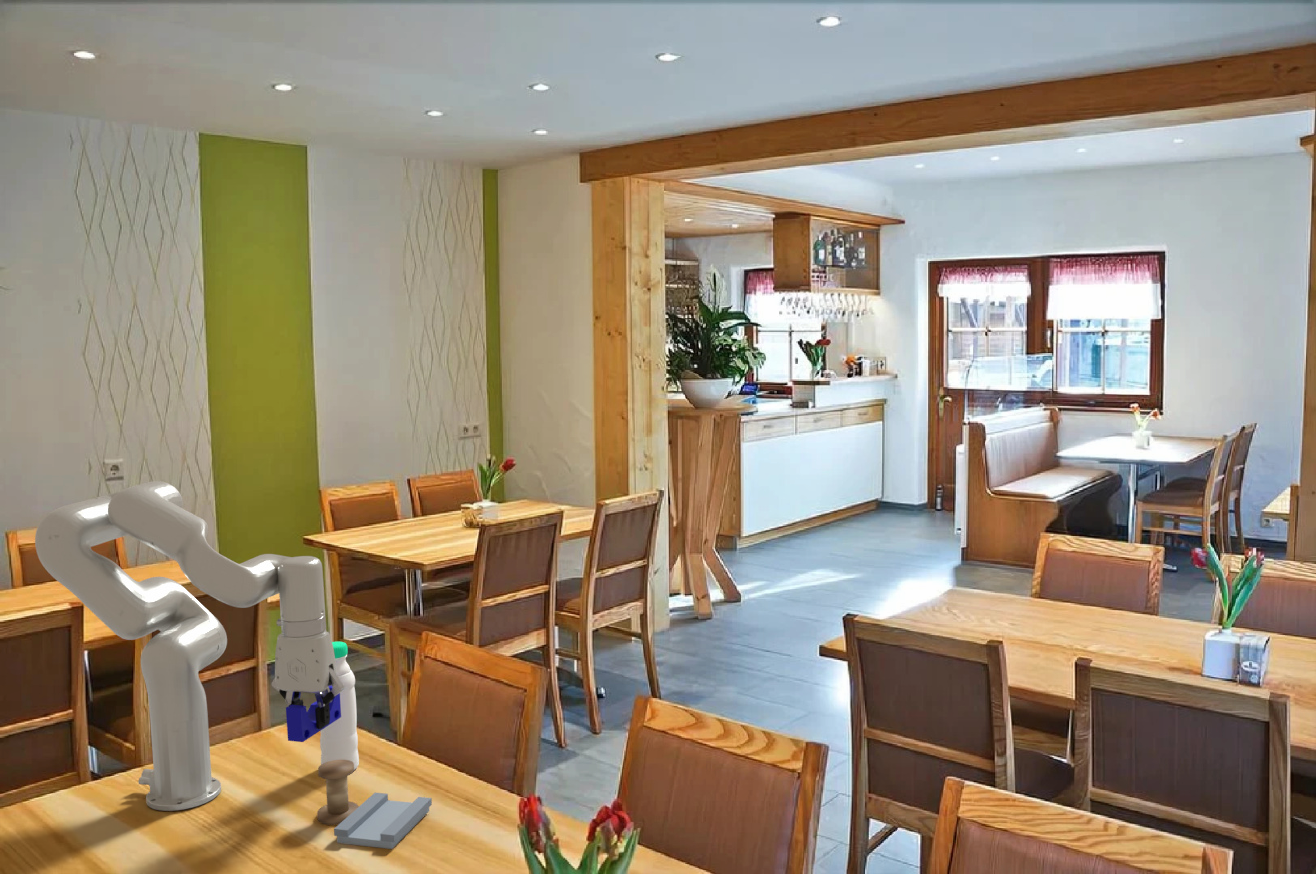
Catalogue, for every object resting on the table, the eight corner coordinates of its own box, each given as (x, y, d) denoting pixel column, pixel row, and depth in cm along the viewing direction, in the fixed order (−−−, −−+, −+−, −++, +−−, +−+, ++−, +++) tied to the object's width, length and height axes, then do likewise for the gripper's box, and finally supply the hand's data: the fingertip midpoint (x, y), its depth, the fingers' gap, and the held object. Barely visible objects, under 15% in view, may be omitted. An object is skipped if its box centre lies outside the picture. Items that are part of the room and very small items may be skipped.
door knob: (309, 822, 184) (307, 773, 183) (331, 805, 191) (328, 756, 190) (346, 826, 183) (343, 776, 182) (366, 808, 190) (364, 760, 189)
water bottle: (353, 776, 203) (347, 649, 200) (316, 776, 203) (309, 649, 201) (363, 761, 210) (358, 638, 207) (328, 761, 210) (322, 638, 208)
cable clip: (319, 715, 198) (318, 684, 197) (341, 717, 197) (339, 685, 196) (280, 740, 186) (278, 707, 186) (302, 742, 185) (300, 709, 184)
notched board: (334, 842, 177) (333, 829, 177) (375, 805, 191) (374, 792, 191) (394, 849, 175) (394, 835, 174) (432, 811, 188) (431, 798, 188)
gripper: (249, 630, 188) (256, 729, 190) (333, 635, 183) (339, 737, 185) (276, 618, 195) (282, 714, 197) (357, 623, 190) (363, 721, 192)
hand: (310, 724), depth 191 cm, fingers closed on cable clip, 4 cm apart
